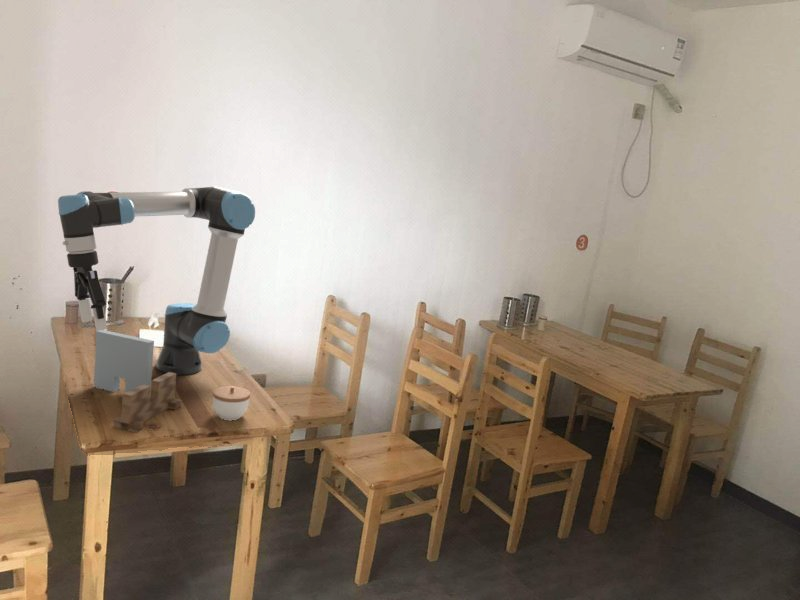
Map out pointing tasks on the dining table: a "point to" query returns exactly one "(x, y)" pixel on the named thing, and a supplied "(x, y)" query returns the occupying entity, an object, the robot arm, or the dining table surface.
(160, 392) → the walnut board
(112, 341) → the slotted plate
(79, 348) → the dining table surface
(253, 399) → the dining table surface
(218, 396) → the lidded jar
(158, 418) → the dining table surface
